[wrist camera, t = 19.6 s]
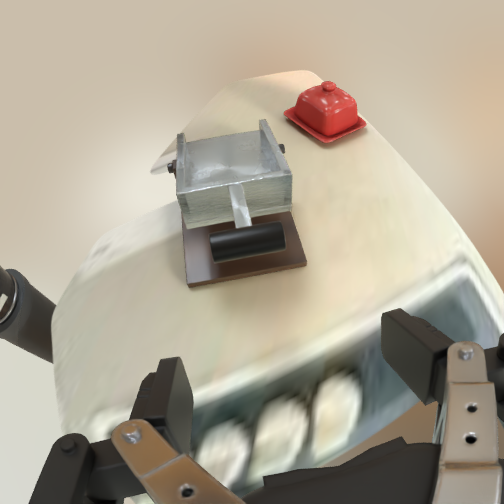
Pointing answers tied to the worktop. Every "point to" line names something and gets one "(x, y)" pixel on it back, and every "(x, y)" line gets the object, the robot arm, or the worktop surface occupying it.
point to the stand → (208, 272)
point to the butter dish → (326, 112)
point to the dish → (235, 190)
